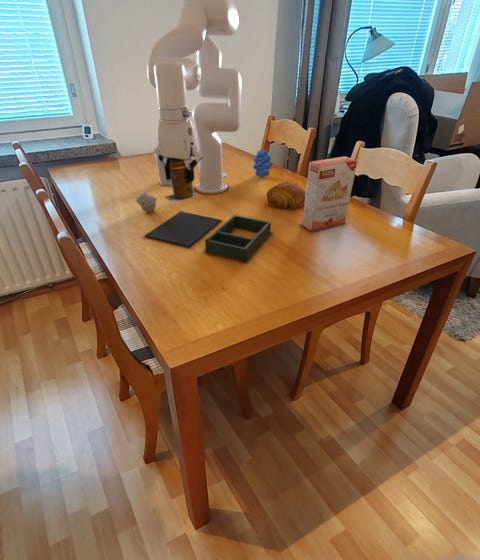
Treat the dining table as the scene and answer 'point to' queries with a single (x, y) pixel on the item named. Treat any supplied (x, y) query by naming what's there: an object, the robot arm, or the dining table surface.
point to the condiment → (179, 181)
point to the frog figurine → (146, 202)
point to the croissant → (286, 195)
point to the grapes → (262, 163)
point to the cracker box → (328, 192)
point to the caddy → (237, 238)
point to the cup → (162, 172)
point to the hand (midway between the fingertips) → (180, 179)
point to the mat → (183, 229)
